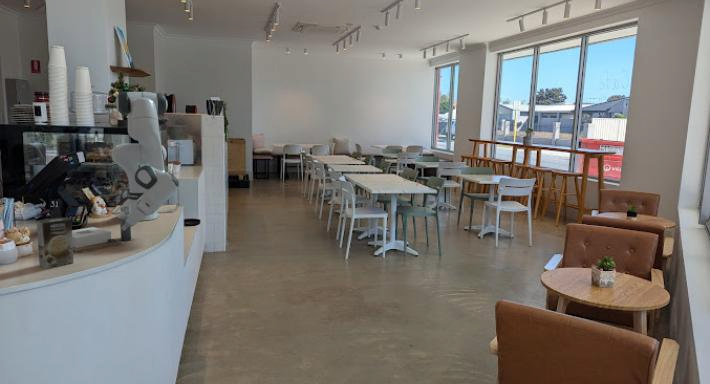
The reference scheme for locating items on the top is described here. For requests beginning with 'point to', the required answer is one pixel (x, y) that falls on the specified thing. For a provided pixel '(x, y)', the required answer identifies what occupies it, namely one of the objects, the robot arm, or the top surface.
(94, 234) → the socket housing
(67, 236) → the coffee box
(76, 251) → the socket board
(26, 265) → the top surface
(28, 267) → the top surface
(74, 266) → the top surface
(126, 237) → the plug
